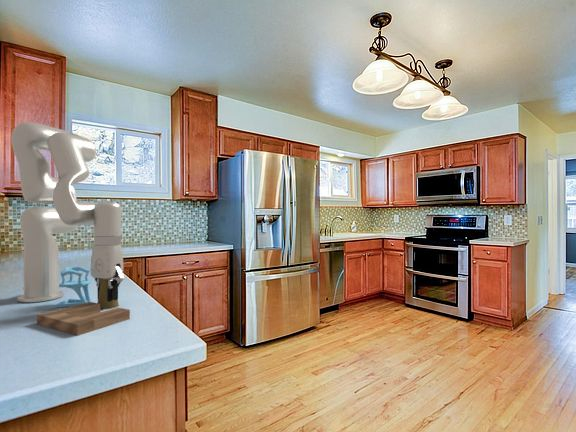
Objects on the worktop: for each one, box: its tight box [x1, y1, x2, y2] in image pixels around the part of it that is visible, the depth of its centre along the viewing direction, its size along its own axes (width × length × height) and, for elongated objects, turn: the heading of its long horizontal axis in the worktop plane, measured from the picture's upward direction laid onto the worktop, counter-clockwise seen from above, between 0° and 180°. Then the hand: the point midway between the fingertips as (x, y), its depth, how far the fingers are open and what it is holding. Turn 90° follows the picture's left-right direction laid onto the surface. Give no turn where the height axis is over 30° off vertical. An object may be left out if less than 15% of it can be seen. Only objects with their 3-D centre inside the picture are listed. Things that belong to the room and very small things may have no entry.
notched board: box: [36, 301, 131, 336], centre depth 87 cm, size 18×14×2 cm
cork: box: [97, 275, 119, 310], centre depth 102 cm, size 6×6×11 cm
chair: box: [54, 266, 92, 309], centre depth 104 cm, size 8×8×12 cm
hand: (107, 299), depth 102 cm, fingers closed on cork, 4 cm apart
